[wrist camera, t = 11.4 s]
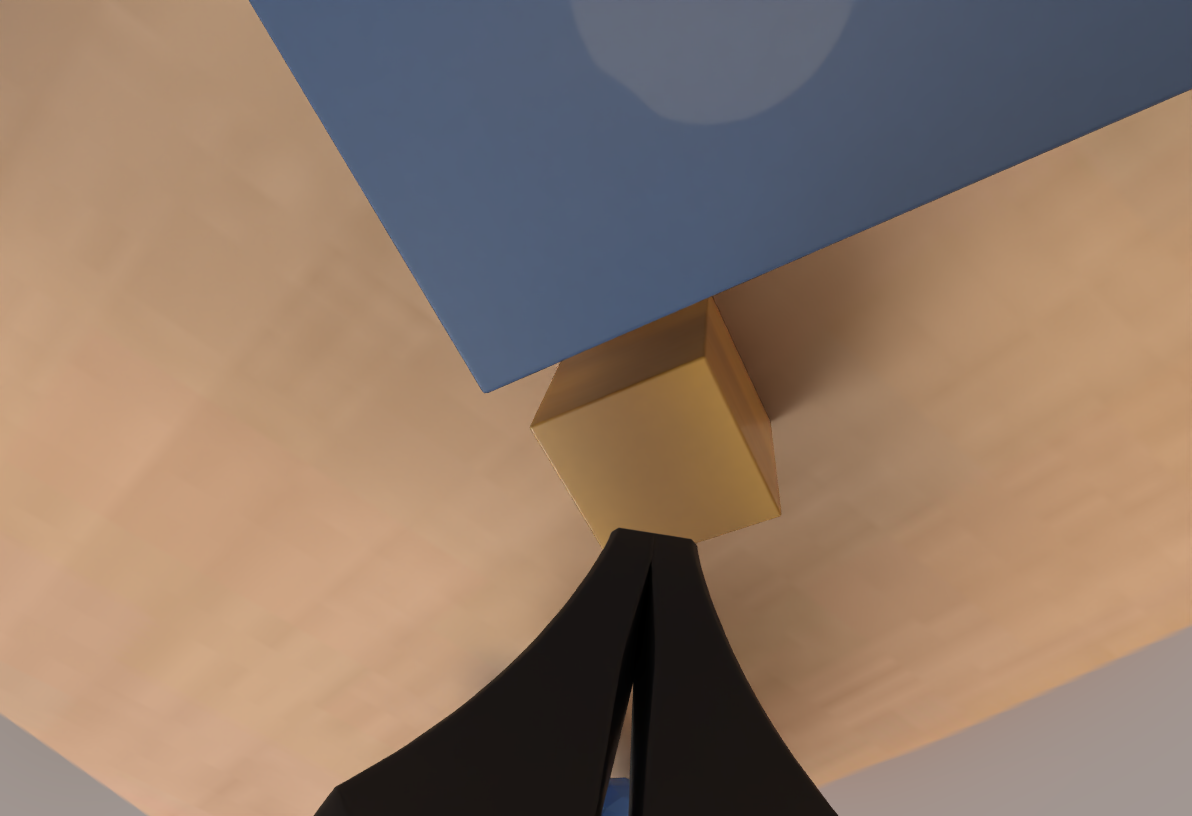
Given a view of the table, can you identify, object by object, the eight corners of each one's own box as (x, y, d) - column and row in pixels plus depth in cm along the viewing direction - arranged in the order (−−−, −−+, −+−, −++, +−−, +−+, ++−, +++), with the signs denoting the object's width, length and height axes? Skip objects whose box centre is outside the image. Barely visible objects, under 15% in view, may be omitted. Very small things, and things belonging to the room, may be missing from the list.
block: (633, 473, 23) (614, 570, 19) (564, 350, 22) (528, 427, 17) (771, 423, 22) (782, 516, 18) (708, 288, 20) (705, 355, 16)
